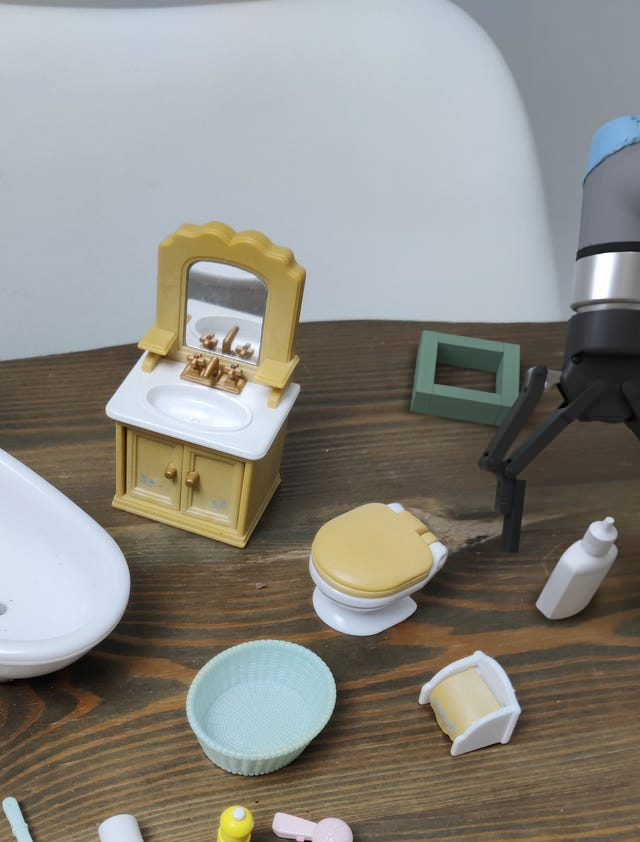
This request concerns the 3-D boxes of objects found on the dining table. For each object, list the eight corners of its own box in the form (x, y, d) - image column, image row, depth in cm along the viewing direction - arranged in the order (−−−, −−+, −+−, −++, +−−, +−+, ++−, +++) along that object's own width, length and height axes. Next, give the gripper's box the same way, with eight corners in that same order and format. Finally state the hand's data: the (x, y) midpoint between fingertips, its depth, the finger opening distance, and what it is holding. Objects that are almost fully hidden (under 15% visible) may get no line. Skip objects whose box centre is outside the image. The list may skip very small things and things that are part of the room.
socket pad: (511, 369, 114) (520, 344, 112) (508, 432, 108) (518, 407, 105) (416, 354, 116) (423, 329, 113) (408, 415, 110) (416, 391, 107)
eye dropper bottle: (596, 623, 93) (649, 538, 83) (537, 623, 93) (584, 539, 83) (584, 587, 95) (634, 501, 86) (527, 587, 95) (571, 501, 86)
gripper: (735, 327, 89) (701, 560, 92) (459, 313, 89) (436, 545, 93) (785, 314, 82) (745, 568, 85) (484, 298, 82) (457, 551, 86)
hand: (584, 556), depth 89 cm, fingers open, 13 cm apart
